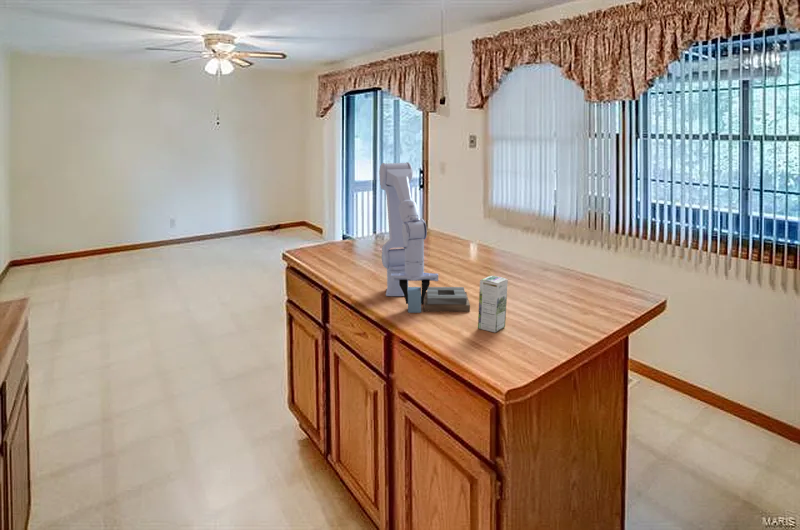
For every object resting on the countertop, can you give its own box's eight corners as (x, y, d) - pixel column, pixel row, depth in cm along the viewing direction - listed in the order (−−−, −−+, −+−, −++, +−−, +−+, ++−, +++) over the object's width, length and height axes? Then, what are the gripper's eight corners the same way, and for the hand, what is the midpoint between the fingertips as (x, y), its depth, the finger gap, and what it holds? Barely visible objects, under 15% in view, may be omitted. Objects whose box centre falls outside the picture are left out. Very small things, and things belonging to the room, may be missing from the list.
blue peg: (408, 308, 169) (408, 287, 167) (421, 308, 169) (421, 287, 167) (408, 312, 165) (407, 290, 163) (421, 312, 165) (421, 290, 163)
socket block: (424, 297, 179) (424, 286, 178) (466, 297, 179) (466, 286, 178) (424, 311, 166) (424, 299, 165) (469, 311, 165) (470, 299, 164)
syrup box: (487, 323, 156) (489, 274, 152) (506, 327, 152) (508, 278, 148) (477, 328, 151) (478, 279, 148) (496, 333, 148) (497, 282, 144)
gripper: (389, 263, 159) (390, 307, 163) (438, 263, 159) (438, 307, 162) (391, 258, 166) (391, 299, 170) (438, 258, 166) (437, 300, 169)
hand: (414, 303), depth 166 cm, fingers closed on blue peg, 4 cm apart
